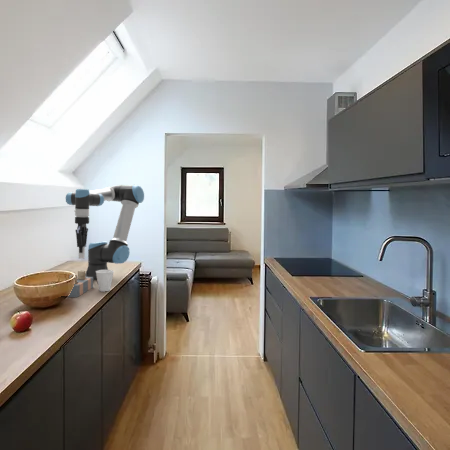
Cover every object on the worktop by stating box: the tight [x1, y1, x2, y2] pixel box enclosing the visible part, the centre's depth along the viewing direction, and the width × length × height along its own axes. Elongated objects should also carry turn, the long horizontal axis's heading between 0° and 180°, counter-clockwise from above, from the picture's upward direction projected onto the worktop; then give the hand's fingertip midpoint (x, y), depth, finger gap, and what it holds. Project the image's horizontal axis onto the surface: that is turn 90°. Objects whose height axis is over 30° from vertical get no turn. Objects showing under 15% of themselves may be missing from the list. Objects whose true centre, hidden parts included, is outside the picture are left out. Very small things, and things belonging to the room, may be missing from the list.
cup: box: [96, 269, 115, 293], centre depth 227 cm, size 10×10×11 cm
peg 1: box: [68, 274, 78, 284], centre depth 216 cm, size 4×4×6 cm
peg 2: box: [77, 270, 86, 280], centre depth 228 cm, size 4×4×6 cm
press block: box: [67, 276, 94, 298], centre depth 223 cm, size 24×9×6 cm, turn 179°
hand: (81, 258), depth 227 cm, fingers closed
